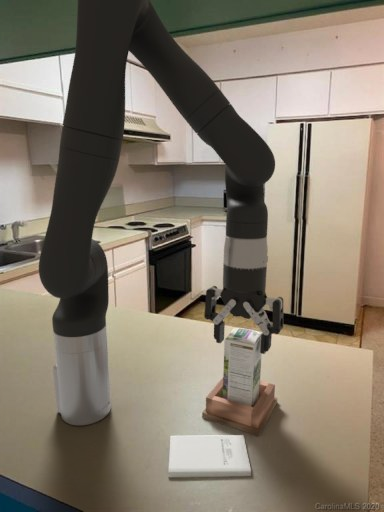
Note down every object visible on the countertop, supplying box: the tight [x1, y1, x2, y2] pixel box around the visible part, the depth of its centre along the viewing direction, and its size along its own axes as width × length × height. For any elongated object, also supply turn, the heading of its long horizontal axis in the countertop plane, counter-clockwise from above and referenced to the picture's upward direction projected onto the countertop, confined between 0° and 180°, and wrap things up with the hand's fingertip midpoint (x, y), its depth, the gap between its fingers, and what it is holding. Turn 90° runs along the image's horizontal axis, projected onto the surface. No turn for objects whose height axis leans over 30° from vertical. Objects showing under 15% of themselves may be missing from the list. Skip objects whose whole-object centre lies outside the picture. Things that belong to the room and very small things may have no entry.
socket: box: [201, 377, 278, 437], centre depth 73 cm, size 11×11×4 cm
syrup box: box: [222, 327, 263, 407], centre depth 72 cm, size 6×6×14 cm
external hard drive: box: [167, 434, 252, 478], centre depth 62 cm, size 2×8×12 cm
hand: (241, 346), depth 71 cm, fingers open, 8 cm apart
